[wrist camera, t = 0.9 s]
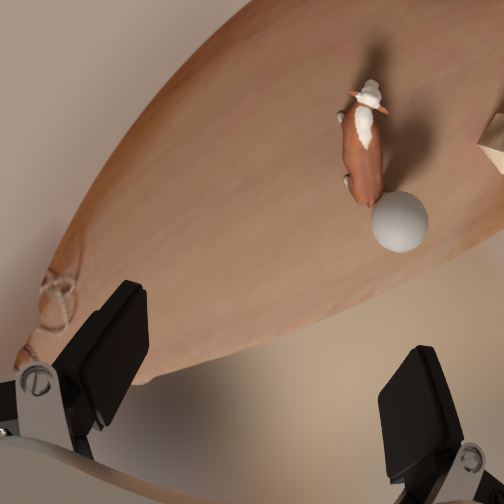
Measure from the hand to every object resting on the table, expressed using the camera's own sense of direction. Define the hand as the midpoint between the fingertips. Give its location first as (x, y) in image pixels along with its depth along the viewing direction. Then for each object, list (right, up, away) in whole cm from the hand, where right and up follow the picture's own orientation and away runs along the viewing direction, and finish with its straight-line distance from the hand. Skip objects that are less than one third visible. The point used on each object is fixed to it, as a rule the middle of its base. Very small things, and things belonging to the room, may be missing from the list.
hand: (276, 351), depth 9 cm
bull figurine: (+11, +17, +22) cm, 30 cm away
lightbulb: (+15, +10, +25) cm, 31 cm away
